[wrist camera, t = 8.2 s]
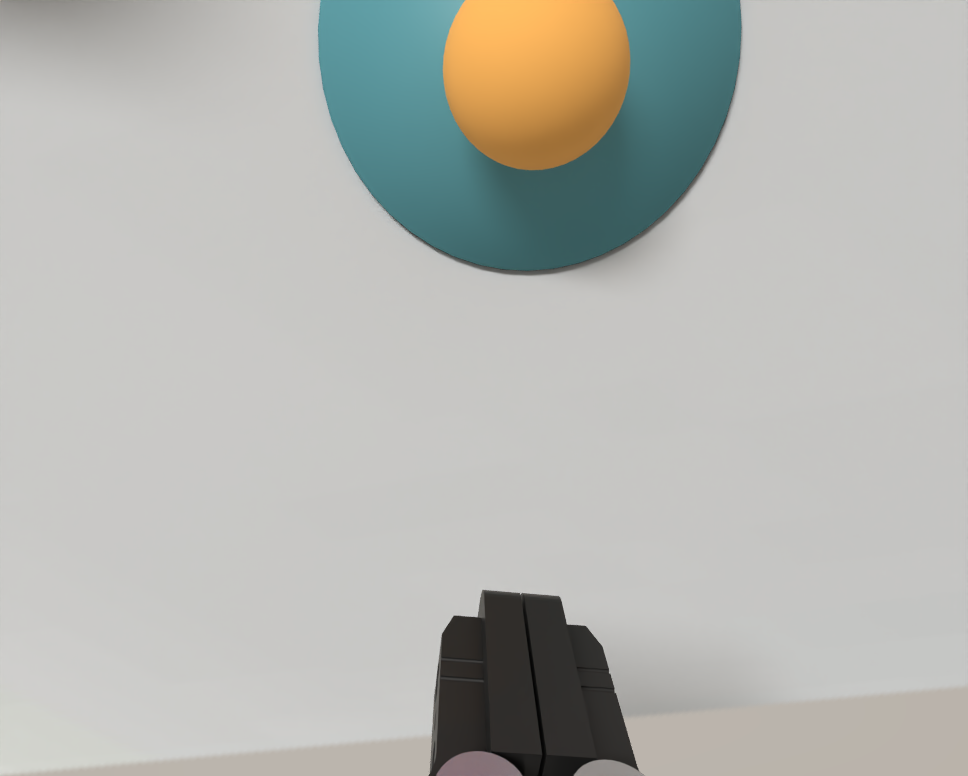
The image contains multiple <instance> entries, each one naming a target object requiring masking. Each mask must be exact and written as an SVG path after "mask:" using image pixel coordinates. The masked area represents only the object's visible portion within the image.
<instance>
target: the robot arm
mask: <svg viewBox="0 0 968 776" xmlns="http://www.w3.org/2000/svg"><path fill="white" fill-rule="evenodd" d="M429 776H644V775H643V774H642V773H640V772H639V770H638V767H637V764H636V761H635V757H634V754H633V750H632V747H631V744H630V740H629V737H628V733H627V730H626V727H625V723H624V719H623V716H622V713H621V709H620V706H619V702H618V699H617V695H616V693H614V685H613V682H612V678H611V675H610V674H609V668H608V665H607V661H606V658H605V654H604V651H603V647H602V646H601V644H600V643H599V642H598V641H597V639H596V638H595V637H594V636H593V634H592V633H591V632H590V631H589V629H588V628H587V627H586V626H578V625H567V623H566V619H565V615H564V610H563V606H562V602H561V599H560V597H559V596H550V595H538V594H526V593H522V594H521V595H520V593H512V592H500V591H489V590H482V593H481V598H480V605H479V612H478V617H465V616H453V618H452V619H451V621H450V623H449V624H448V626H447V627H446V629H445V630H444V632H443V633H442V638H441V647H440V655H439V663H438V671H437V679H436V687H435V695H434V710H433V728H432V747H431V764H430V774H429Z"/></svg>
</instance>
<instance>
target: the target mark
mask: <svg viewBox="0 0 968 776" xmlns="http://www.w3.org/2000/svg"><path fill="white" fill-rule="evenodd" d="M464 2H465V0H321V3H320V14H319V24H318V40H319V63H320V70H321V77H322V84H323V90H324V94H325V98H326V101H327V105H328V109H329V113H330V116H331V120H332V122H333V125H334V127H335V130H336V132H337V135H338V137H339V140H340V143H341V145H342V147H343V149H344V151H345V153H346V155H347V156H348V158H349V160H350V162H351V164H352V166H353V168H354V169H355V171H356V173H357V174H358V176H359V177H360V178H361V180H362V181H363V183H364V184H365V185H366V187H367V188H368V190H369V191H370V192H371V194H372V195H373V196H374V197H375V198H376V199H377V201H378V202H379V203H380V204H381V205H382V206H383V207H384V208H385V209H386V210H387V211H388V213H389V214H390V215H391V216H393V217H394V218H395V219H396V220H397V221H398V222H400V223H401V224H402V225H403V226H404V227H406V228H407V229H408V230H409V231H410V232H412V233H413V234H415V235H416V236H418V237H419V238H421V239H422V240H424V241H425V242H427V243H429V244H430V245H432V246H433V247H436V248H438V249H440V250H442V251H444V252H446V253H448V254H450V255H452V256H454V257H457V258H460V259H463V260H466V261H469V262H472V263H475V264H478V265H483V266H488V267H494V268H499V269H506V270H525V271H530V270H543V269H554V268H559V267H563V266H568V265H573V264H577V263H580V262H583V261H586V260H589V259H592V258H594V257H597V256H600V255H602V254H604V253H606V252H608V251H610V250H612V249H614V248H616V247H618V246H620V245H622V244H624V243H626V242H627V241H629V240H630V239H632V238H633V237H635V236H636V235H638V234H639V233H641V232H642V231H644V230H645V229H646V228H648V227H649V226H650V225H651V224H652V223H653V222H655V221H656V220H657V219H658V218H659V217H660V216H662V215H663V214H664V213H665V212H666V211H667V210H668V209H669V208H670V207H671V206H672V205H673V204H674V202H675V201H676V200H677V199H678V198H679V197H680V196H681V195H682V194H683V193H684V192H685V190H686V189H687V187H688V186H689V185H690V183H691V182H692V180H693V179H694V178H695V176H696V175H697V173H698V172H699V171H700V169H701V168H702V166H703V164H704V162H705V161H706V159H707V157H708V155H709V153H710V152H711V150H712V148H713V146H714V144H715V142H716V140H717V138H718V135H719V133H720V130H721V128H722V126H723V123H724V121H725V118H726V116H727V112H728V109H729V105H730V102H731V98H732V95H733V92H734V88H735V83H736V77H737V71H738V65H739V59H740V44H741V11H740V0H613V2H614V3H615V5H616V7H617V9H618V11H619V13H620V15H621V17H622V19H623V22H624V25H625V28H626V31H627V36H628V41H629V48H630V75H629V82H628V87H627V91H626V95H625V98H624V101H623V104H622V106H621V108H620V111H619V113H618V115H617V117H616V118H615V120H614V122H613V124H612V125H611V127H610V128H609V129H608V131H607V132H606V134H605V135H604V136H603V137H602V138H601V139H600V140H599V141H598V142H597V144H595V145H594V146H593V147H592V148H591V149H590V150H588V151H587V152H586V153H584V154H583V155H581V156H580V157H578V158H577V159H575V160H573V161H570V162H568V163H566V164H564V165H561V166H558V167H554V168H549V169H544V170H523V169H516V168H513V167H509V166H506V165H503V164H500V163H498V162H496V161H494V160H493V159H491V158H489V157H487V156H486V155H485V154H483V153H482V152H480V151H479V150H478V149H477V148H476V147H475V146H474V145H473V144H472V143H471V142H470V141H469V140H468V139H467V138H466V136H465V135H464V134H463V133H462V131H461V130H460V128H459V126H458V125H457V123H456V121H455V119H454V117H453V115H452V112H451V110H450V107H449V104H448V101H447V98H446V93H445V88H444V80H443V57H444V51H445V45H446V40H447V37H448V34H449V30H450V27H451V25H452V23H453V21H454V18H455V16H456V14H457V13H458V11H459V9H460V7H461V6H462V4H463V3H464Z"/></svg>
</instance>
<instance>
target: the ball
mask: <svg viewBox="0 0 968 776" xmlns="http://www.w3.org/2000/svg"><path fill="white" fill-rule="evenodd" d="M629 75H630V48H629V41H628V36H627V31H626V28H625V25H624V22H623V19H622V17H621V15H620V13H619V11H618V9H617V7H616V5H615V3H614V2H613V0H465V2H464V3H463V4H462V6H461V7H460V9H459V11H458V13H457V14H456V16H455V18H454V21H453V23H452V25H451V27H450V30H449V34H448V37H447V40H446V45H445V51H444V57H443V80H444V88H445V93H446V98H447V101H448V104H449V107H450V110H451V112H452V115H453V117H454V119H455V121H456V123H457V125H458V126H459V128H460V130H461V131H462V133H463V134H464V135H465V136H466V138H467V139H468V140H469V141H470V142H471V143H472V144H473V145H474V146H475V147H476V148H477V149H478V150H479V151H480V152H482V153H483V154H485V155H486V156H487V157H489V158H491V159H493V160H494V161H496V162H498V163H500V164H503V165H506V166H509V167H513V168H516V169H523V170H544V169H549V168H554V167H558V166H561V165H564V164H566V163H568V162H570V161H573V160H575V159H577V158H578V157H580V156H581V155H583V154H584V153H586V152H587V151H588V150H590V149H591V148H592V147H593V146H594V145H595V144H597V142H598V141H599V140H600V139H601V138H602V137H603V136H604V135H605V134H606V132H607V131H608V129H609V128H610V127H611V125H612V124H613V122H614V120H615V118H616V117H617V115H618V113H619V111H620V108H621V106H622V104H623V101H624V98H625V95H626V91H627V87H628V82H629Z"/></svg>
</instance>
